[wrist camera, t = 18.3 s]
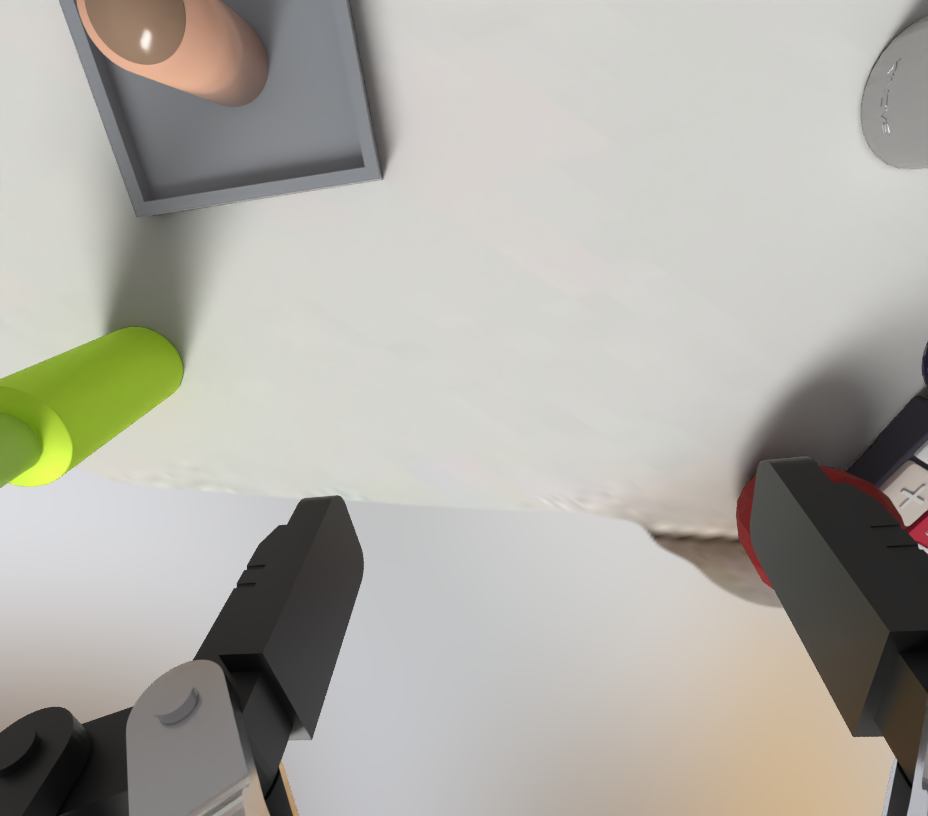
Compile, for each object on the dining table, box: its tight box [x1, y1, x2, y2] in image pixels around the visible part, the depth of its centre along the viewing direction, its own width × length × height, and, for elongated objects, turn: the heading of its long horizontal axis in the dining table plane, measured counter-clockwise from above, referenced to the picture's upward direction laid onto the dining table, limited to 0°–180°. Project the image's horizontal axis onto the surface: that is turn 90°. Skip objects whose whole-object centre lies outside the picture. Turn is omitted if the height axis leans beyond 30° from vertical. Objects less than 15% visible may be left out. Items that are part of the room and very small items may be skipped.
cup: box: [76, 0, 268, 107], centre depth 27 cm, size 5×5×10 cm
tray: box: [59, 0, 383, 217], centre depth 32 cm, size 16×16×2 cm
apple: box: [736, 466, 906, 589], centre depth 41 cm, size 11×11×12 cm
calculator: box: [847, 396, 928, 554], centre depth 46 cm, size 11×4×15 cm
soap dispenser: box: [0, 327, 183, 488], centre depth 30 cm, size 6×7×20 cm
